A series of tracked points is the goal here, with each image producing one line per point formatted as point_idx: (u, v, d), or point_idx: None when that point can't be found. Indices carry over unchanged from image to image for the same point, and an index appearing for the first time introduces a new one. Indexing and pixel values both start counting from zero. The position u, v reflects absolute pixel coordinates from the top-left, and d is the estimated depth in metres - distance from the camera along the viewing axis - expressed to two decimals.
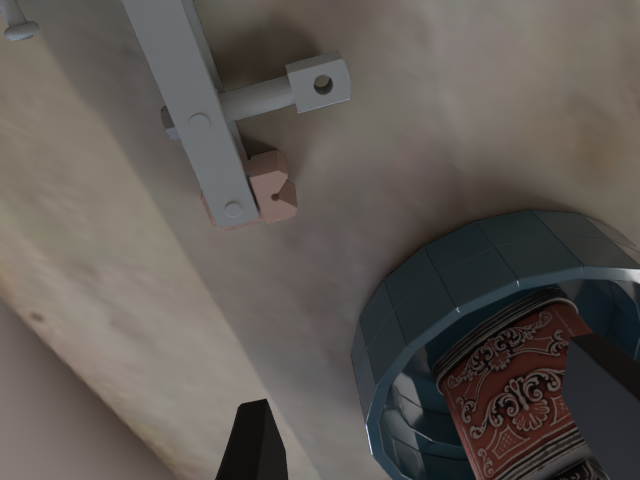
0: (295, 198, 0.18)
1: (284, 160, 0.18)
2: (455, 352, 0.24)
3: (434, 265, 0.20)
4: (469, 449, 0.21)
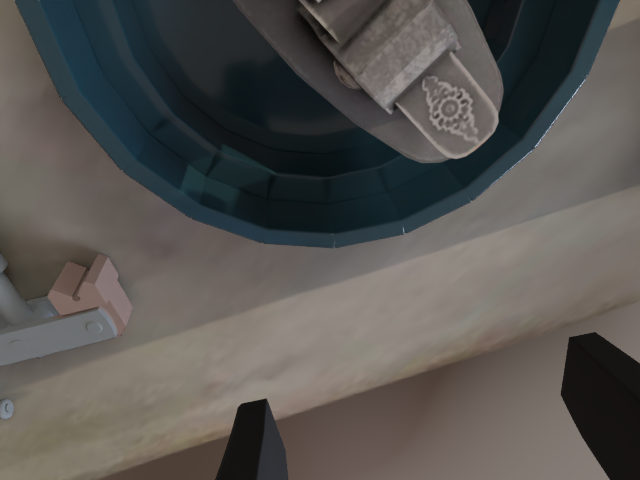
0: None
1: (60, 273, 0.20)
2: None
3: None
4: None
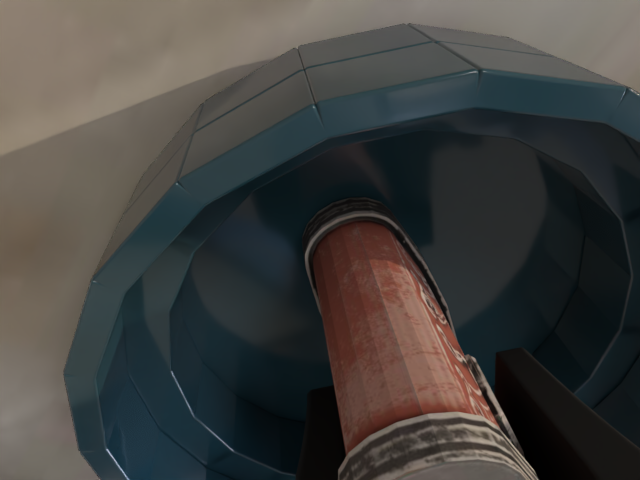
0: None
1: None
2: None
3: None
4: None
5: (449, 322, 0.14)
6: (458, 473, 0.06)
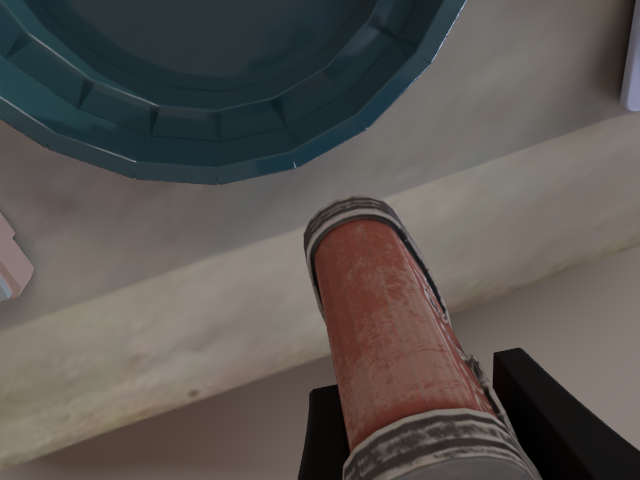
0: None
1: None
2: None
3: None
4: None
5: (447, 323, 0.14)
6: (466, 469, 0.06)
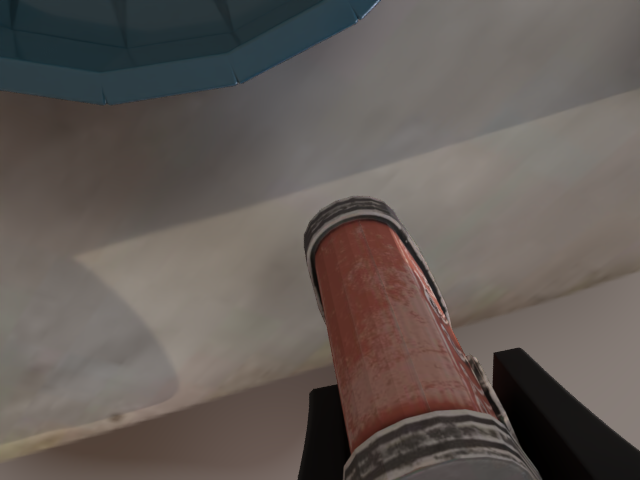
0: None
1: None
2: None
3: None
4: None
5: (448, 323, 0.14)
6: (467, 470, 0.06)
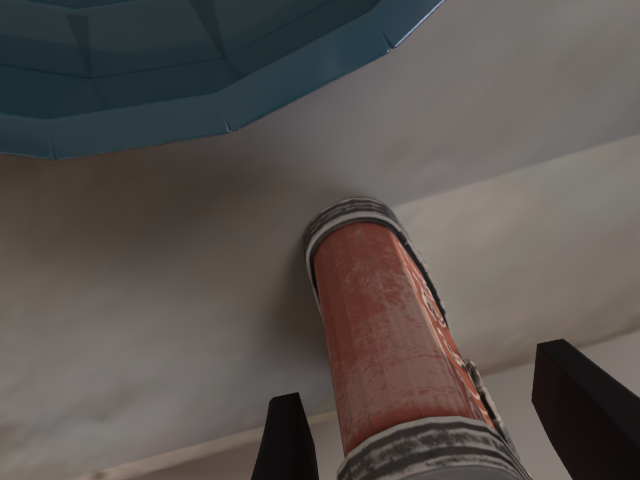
0: None
1: None
2: None
3: None
4: None
5: (447, 325, 0.14)
6: (458, 477, 0.06)
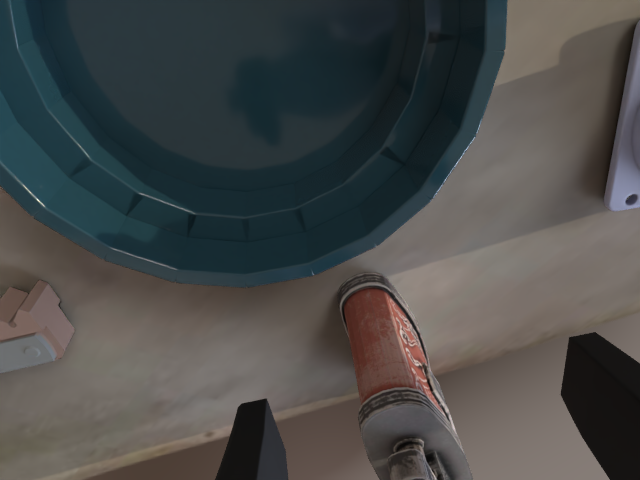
0: (26, 298, 0.20)
1: (0, 299, 0.21)
2: None
3: None
4: None
5: (422, 341, 0.24)
6: (405, 410, 0.16)
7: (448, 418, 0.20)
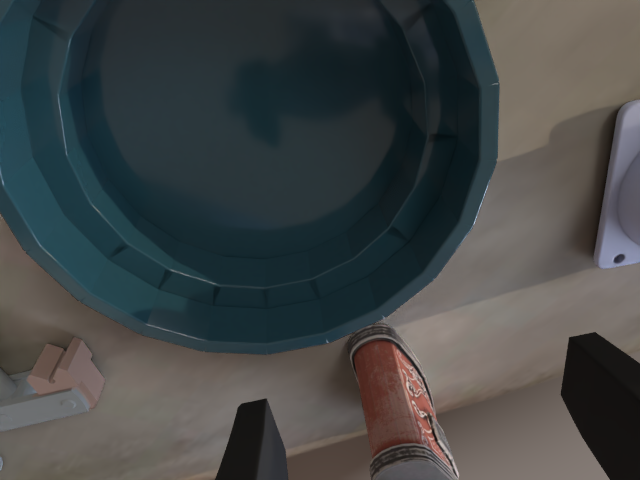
0: (63, 356, 0.22)
1: (39, 356, 0.22)
2: None
3: None
4: None
5: (426, 385, 0.26)
6: (412, 465, 0.18)
7: (451, 464, 0.22)
